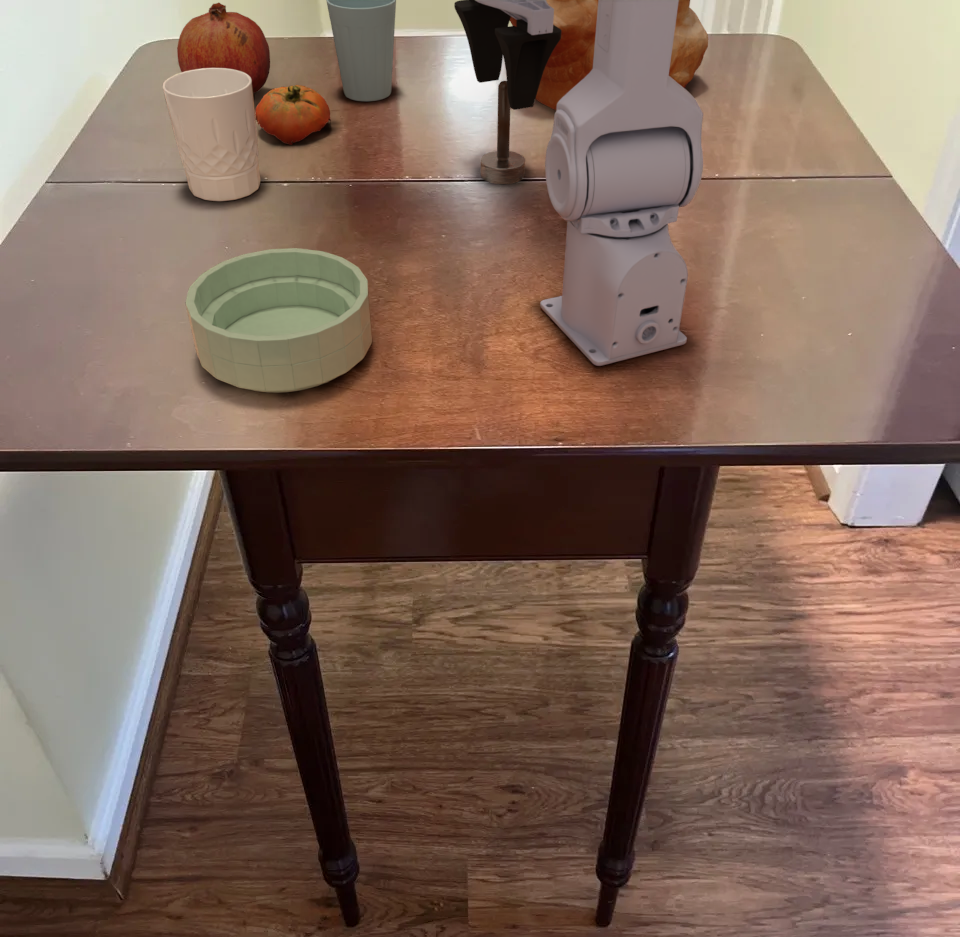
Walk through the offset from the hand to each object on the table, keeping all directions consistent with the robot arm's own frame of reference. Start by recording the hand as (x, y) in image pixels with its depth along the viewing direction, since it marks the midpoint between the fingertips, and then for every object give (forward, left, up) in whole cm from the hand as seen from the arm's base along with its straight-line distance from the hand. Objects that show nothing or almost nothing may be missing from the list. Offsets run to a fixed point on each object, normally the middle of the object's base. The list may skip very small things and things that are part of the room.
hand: (504, 93), depth 90 cm
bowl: (-22, +28, -8) cm, 37 cm away
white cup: (+8, +26, -8) cm, 28 cm away
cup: (+27, +5, -8) cm, 29 cm away
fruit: (+32, +20, -8) cm, 39 cm away
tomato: (+19, +16, -8) cm, 26 cm away
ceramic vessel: (+17, -21, -8) cm, 28 cm away
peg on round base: (0, 0, -8) cm, 8 cm away
